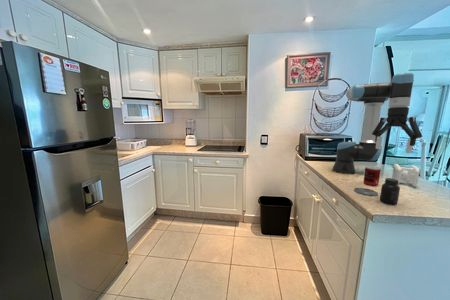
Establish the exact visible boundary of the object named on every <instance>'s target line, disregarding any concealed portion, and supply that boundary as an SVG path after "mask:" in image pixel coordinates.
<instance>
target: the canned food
mask: <svg viewBox="0 0 450 300" xmlns="http://www.w3.org/2000/svg"><path fill="white" fill-rule="evenodd" d="M381 172H382V171H381V168H380V167H378V166H374V165H373V166H372V165H366V166H365V169H364V174H363V175H364V177H363V184H364V185H366V186H370V187H378V186H379V185H380V184H379V183H380V178H381V177H380V176H381Z"/></svg>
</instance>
